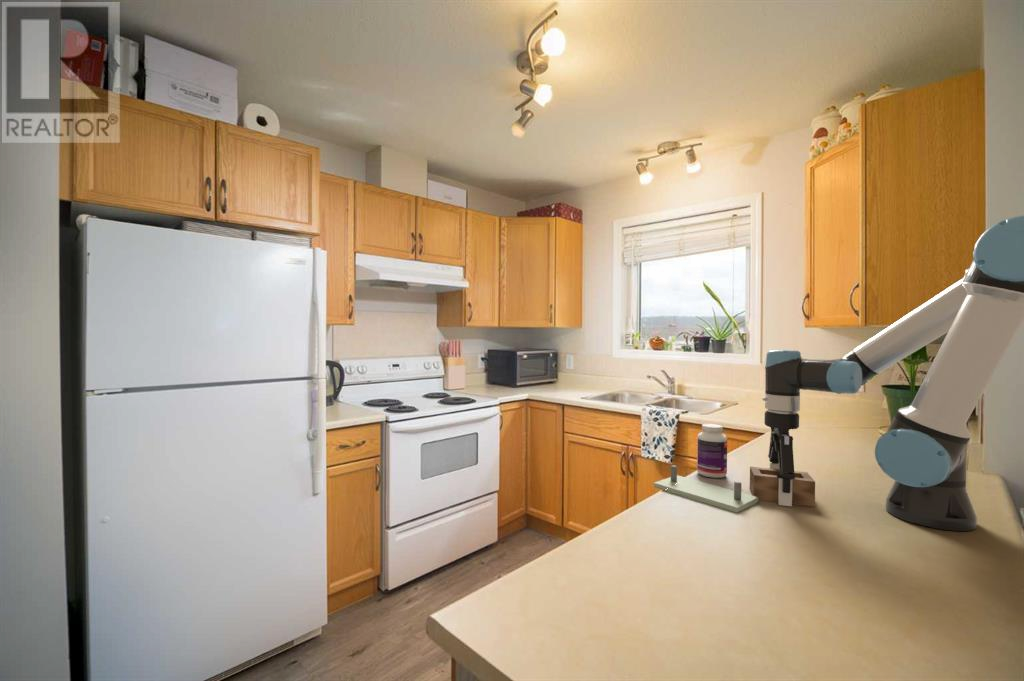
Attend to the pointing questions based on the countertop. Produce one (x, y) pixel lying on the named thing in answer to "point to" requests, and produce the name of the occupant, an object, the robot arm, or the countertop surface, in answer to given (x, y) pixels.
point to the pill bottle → (712, 451)
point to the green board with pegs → (707, 492)
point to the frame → (767, 486)
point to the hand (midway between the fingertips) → (779, 496)
